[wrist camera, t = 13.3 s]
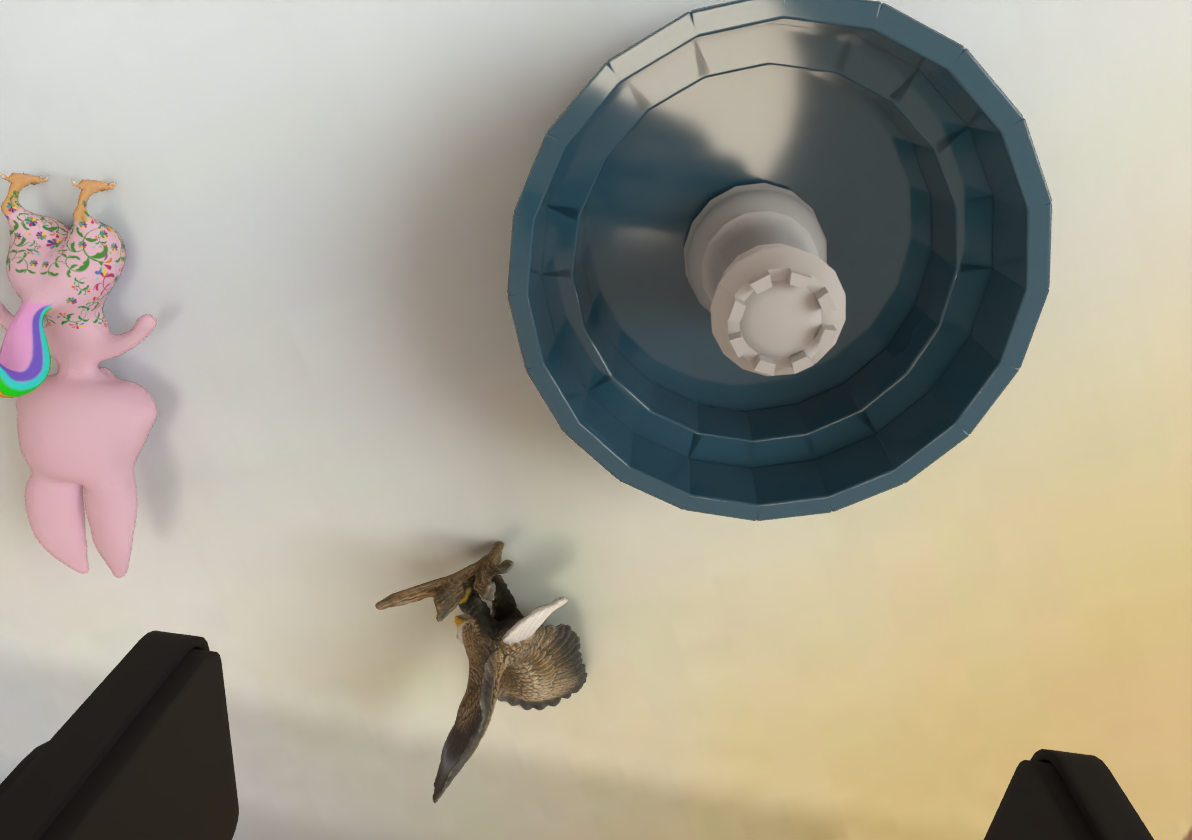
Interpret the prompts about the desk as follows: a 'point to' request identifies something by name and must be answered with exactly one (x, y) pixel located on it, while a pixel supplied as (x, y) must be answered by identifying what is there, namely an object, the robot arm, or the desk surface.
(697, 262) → the rook chess piece
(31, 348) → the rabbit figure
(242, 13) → the desk surface
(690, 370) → the bowl
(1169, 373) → the desk surface
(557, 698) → the eagle figurine
